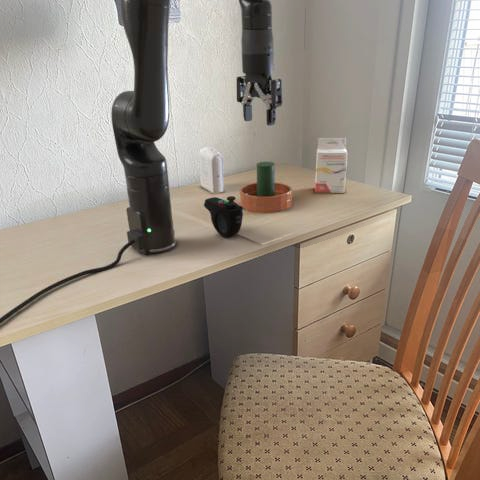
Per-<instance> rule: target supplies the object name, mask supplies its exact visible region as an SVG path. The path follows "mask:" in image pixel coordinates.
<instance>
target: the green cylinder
mask: <svg viewBox="0 0 480 480" xmlns="http://www.w3.org/2000/svg"><path fill="white" fill-rule="evenodd" d="M275 165H276V163H275V162H272V161H261V162H260V161H259V162H257V163H256V183H257V197H270V196H275V182H276V181H275V180H276V179H275V178H276V177H275V176H276V175H275V171H276V169H275V167H276V166H275Z"/></svg>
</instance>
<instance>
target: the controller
mask: <svg viewBox="0 0 480 480" xmlns="http://www.w3.org/2000/svg"><path fill="white" fill-rule="evenodd" d="M236 199H237V198H236V196H234V195H233V196H232V195H231V196H227V197H226V200H225V199H222V198H219V197H217V196H213V197H210V198H209V197H208V198H206V199H204V203H203V207H204V208H205V209H206V210H207V211H208V212H209V214H210V219H211V223H212V226H213V228H214V230H215V231H216V232H217V234H219V235H220V236H221V237H224V238H230V237H233V236H235V235H237V234H238V233H239V232H240V231H241V229H242V224H243V218H244V212H243V210H244V209H243V207H242V206H240V204H238V203H237V202H235V200H236Z"/></svg>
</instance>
